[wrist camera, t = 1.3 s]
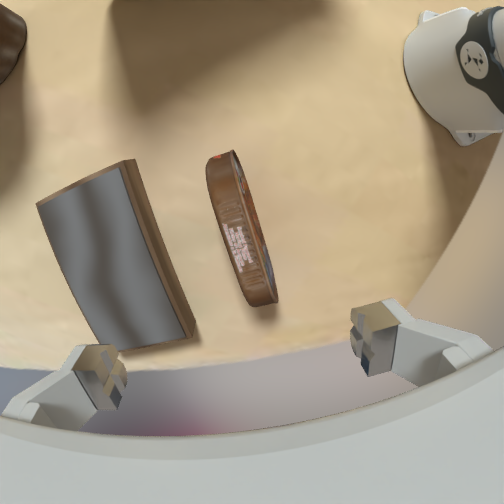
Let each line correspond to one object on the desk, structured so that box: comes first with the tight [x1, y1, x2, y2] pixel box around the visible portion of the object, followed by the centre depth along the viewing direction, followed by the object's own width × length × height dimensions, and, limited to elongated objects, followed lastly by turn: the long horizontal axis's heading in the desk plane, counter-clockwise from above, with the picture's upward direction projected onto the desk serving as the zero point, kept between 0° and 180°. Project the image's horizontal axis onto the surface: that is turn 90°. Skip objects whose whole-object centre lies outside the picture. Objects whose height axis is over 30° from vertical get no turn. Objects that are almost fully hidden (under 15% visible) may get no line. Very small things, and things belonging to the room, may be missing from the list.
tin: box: [206, 150, 278, 307], centre depth 28 cm, size 15×3×8 cm, turn 16°
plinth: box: [36, 159, 196, 352], centre depth 30 cm, size 12×20×4 cm, turn 16°
